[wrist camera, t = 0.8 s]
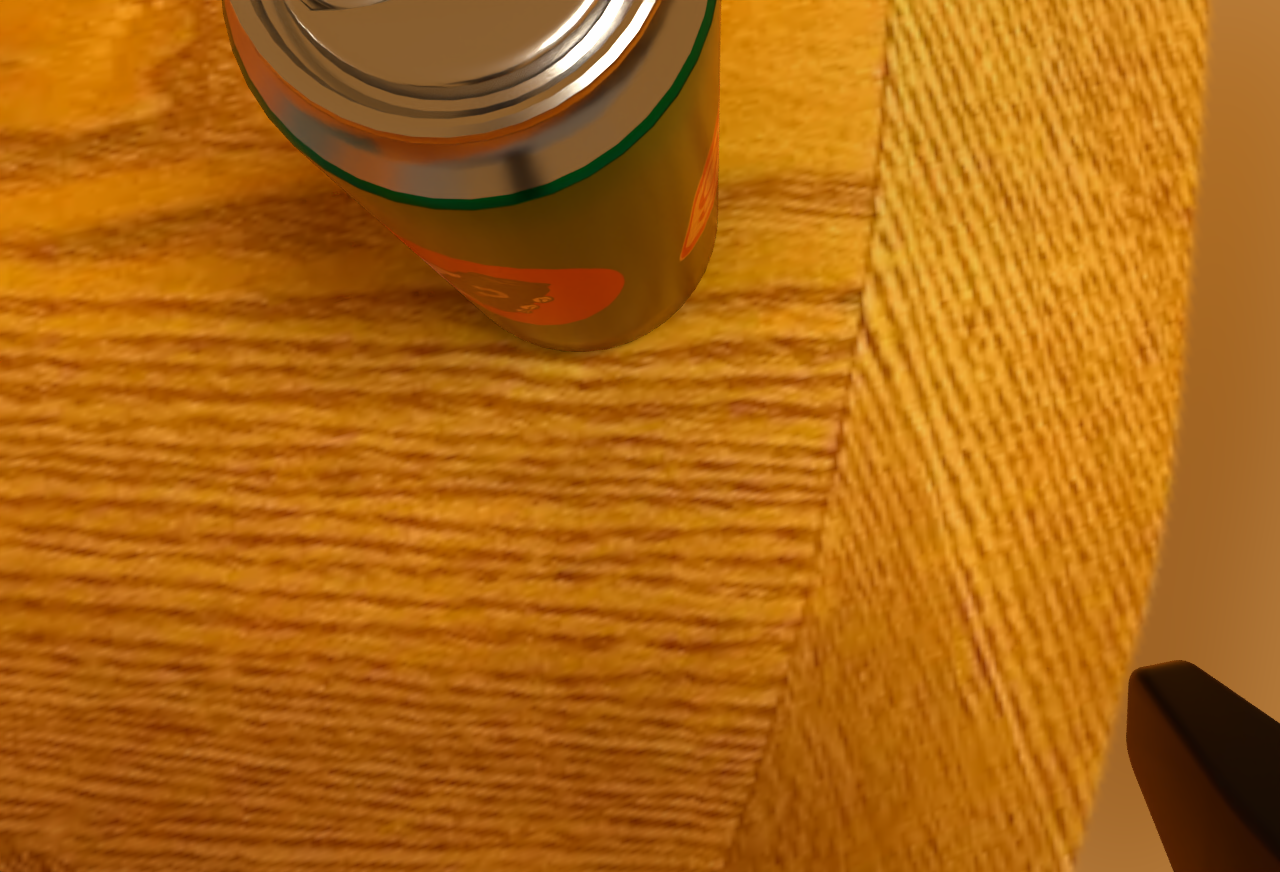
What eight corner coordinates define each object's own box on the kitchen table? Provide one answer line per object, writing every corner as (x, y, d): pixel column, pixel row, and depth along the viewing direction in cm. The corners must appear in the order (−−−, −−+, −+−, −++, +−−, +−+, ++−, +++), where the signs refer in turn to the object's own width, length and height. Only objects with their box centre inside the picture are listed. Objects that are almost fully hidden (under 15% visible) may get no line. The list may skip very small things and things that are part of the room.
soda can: (756, 300, 23) (804, 60, 11) (503, 394, 23) (271, 260, 11) (663, 53, 23) (610, -444, 11) (415, 148, 23) (99, -243, 11)
